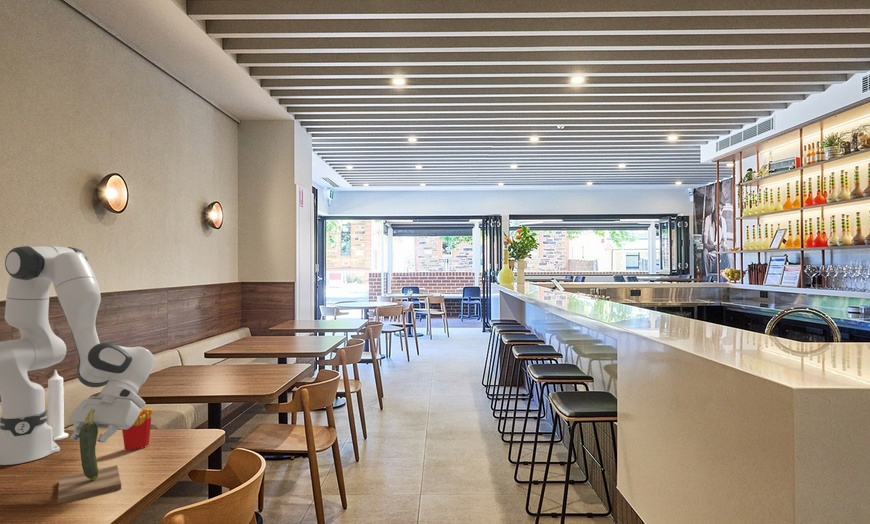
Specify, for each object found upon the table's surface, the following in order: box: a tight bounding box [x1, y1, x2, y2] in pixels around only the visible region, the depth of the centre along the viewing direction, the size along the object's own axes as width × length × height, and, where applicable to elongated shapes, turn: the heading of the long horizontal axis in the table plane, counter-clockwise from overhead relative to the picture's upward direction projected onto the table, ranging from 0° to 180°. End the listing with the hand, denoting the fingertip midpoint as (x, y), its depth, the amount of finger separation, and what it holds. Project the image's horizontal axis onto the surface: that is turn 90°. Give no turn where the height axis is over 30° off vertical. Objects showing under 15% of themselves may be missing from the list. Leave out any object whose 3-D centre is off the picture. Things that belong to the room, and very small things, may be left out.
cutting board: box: [57, 464, 122, 505], centre depth 141 cm, size 17×14×2 cm
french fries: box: [121, 407, 153, 451], centre depth 172 cm, size 9×4×13 cm, turn 131°
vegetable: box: [79, 408, 99, 480], centre depth 141 cm, size 4×4×20 cm
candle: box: [47, 369, 69, 442], centre depth 184 cm, size 7×7×25 cm
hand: (87, 440), depth 141 cm, fingers open, 8 cm apart
